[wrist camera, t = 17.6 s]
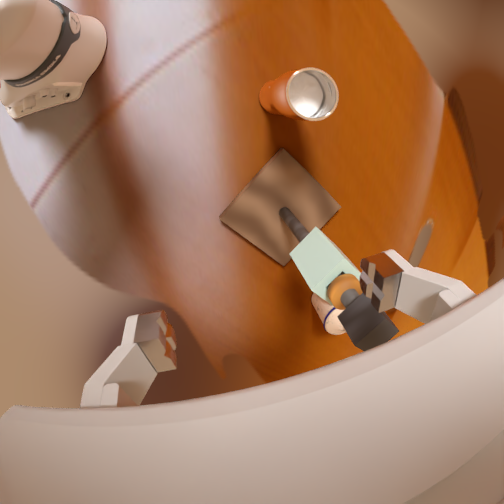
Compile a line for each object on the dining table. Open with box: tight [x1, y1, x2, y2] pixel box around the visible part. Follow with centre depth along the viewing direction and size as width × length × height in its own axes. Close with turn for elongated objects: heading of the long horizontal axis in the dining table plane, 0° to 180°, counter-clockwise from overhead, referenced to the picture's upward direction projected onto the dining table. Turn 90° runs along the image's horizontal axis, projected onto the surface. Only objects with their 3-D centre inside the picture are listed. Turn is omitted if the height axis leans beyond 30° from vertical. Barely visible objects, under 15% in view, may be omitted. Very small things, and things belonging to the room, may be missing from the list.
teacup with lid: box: [312, 293, 346, 335], centre depth 57 cm, size 12×9×12 cm
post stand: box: [219, 148, 399, 351], centre depth 36 cm, size 16×16×32 cm
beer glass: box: [259, 68, 339, 121], centre depth 33 cm, size 7×7×15 cm
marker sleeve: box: [290, 227, 361, 306], centre depth 33 cm, size 5×5×8 cm
